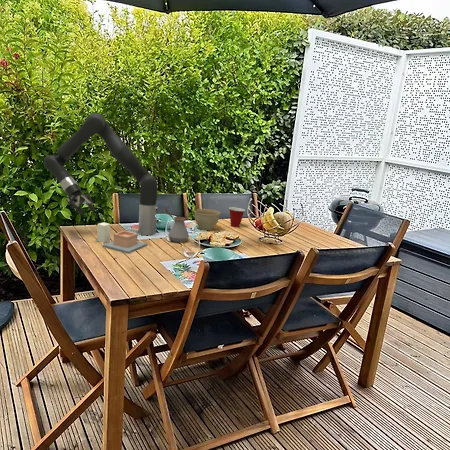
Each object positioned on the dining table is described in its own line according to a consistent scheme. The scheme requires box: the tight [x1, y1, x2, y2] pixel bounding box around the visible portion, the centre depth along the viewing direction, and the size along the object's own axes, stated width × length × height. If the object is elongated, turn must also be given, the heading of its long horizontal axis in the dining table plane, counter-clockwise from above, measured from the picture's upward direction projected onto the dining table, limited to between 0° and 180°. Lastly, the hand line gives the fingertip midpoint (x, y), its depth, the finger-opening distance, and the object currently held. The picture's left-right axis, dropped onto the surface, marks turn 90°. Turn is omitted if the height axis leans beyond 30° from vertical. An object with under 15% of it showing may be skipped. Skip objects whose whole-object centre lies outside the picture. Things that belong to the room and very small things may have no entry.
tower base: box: [102, 230, 148, 255], centre depth 209 cm, size 16×16×7 cm
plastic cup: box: [228, 206, 246, 228], centre depth 267 cm, size 11×11×12 cm
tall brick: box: [96, 222, 111, 244], centre depth 213 cm, size 4×4×10 cm
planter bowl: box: [193, 208, 221, 231], centre depth 255 cm, size 16×16×11 cm
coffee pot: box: [162, 207, 190, 243], centre depth 229 cm, size 21×12×15 cm, turn 41°
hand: (87, 212), depth 214 cm, fingers open, 8 cm apart
